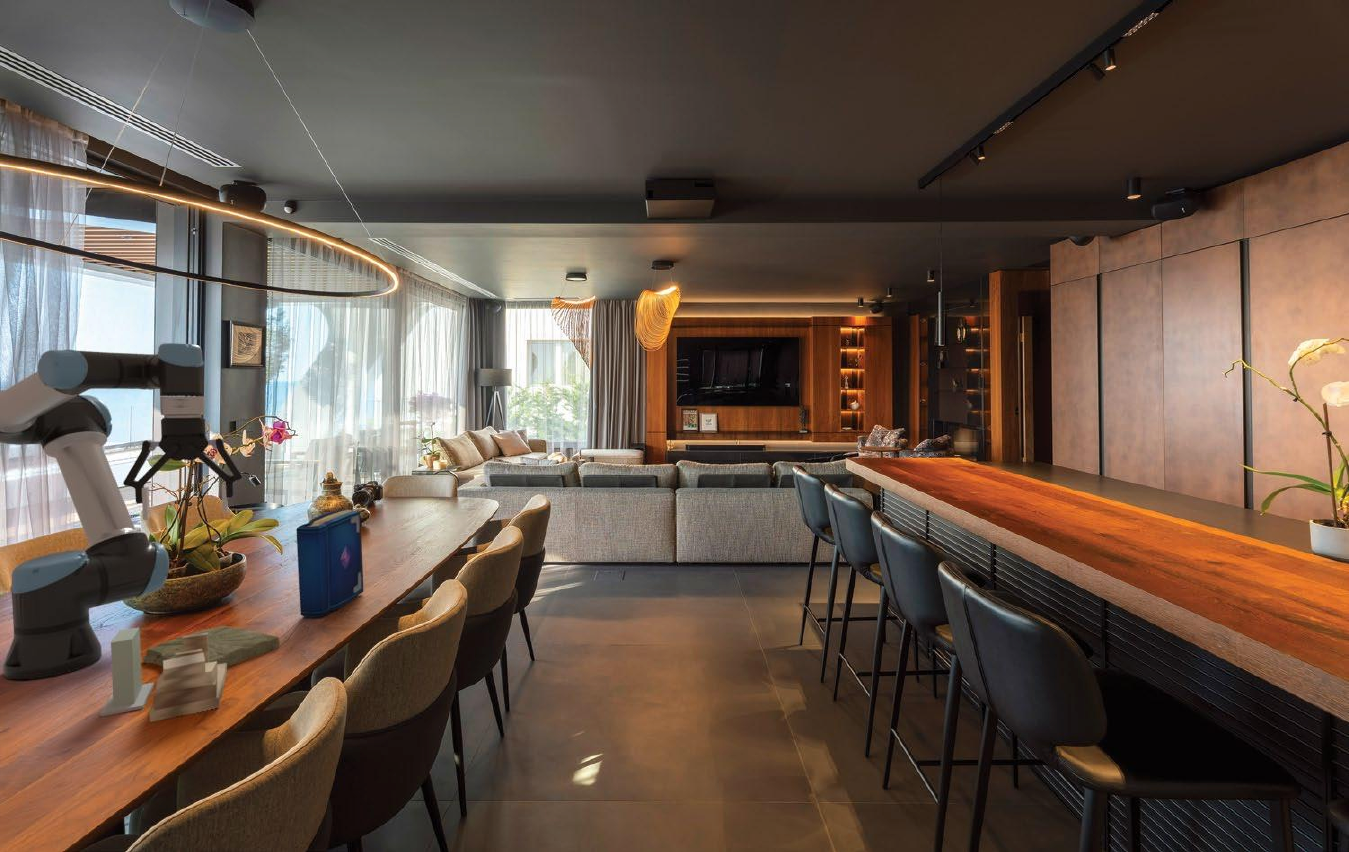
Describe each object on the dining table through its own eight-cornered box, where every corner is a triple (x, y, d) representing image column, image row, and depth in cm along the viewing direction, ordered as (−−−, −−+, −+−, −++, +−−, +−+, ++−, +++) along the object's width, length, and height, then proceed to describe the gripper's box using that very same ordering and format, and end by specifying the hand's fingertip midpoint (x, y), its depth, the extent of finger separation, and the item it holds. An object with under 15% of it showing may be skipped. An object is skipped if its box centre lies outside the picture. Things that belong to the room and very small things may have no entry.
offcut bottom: (153, 710, 115) (153, 696, 115) (157, 697, 120) (157, 684, 120) (216, 697, 120) (215, 684, 120) (217, 685, 125) (216, 672, 125)
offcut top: (163, 680, 115) (163, 669, 115) (163, 671, 119) (163, 660, 119) (205, 671, 119) (205, 660, 119) (203, 662, 123) (203, 652, 123)
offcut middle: (157, 693, 116) (157, 679, 116) (165, 682, 120) (165, 668, 120) (212, 684, 119) (211, 671, 119) (217, 674, 124) (217, 661, 124)
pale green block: (113, 706, 119) (110, 642, 118) (122, 691, 125) (119, 630, 125) (134, 702, 121) (131, 639, 120) (142, 688, 127) (139, 627, 126)
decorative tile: (222, 636, 157) (222, 622, 157) (281, 648, 149) (280, 633, 149) (134, 666, 140) (133, 650, 139) (195, 681, 132) (194, 664, 132)
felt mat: (100, 716, 117) (100, 713, 117) (114, 692, 126) (114, 689, 126) (143, 708, 120) (143, 705, 120) (153, 685, 129) (153, 682, 129)
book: (322, 620, 167) (319, 523, 165) (295, 620, 167) (292, 523, 165) (364, 594, 188) (362, 508, 187) (340, 594, 188) (338, 508, 187)
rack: (149, 722, 115) (147, 671, 114) (166, 683, 130) (164, 638, 130) (218, 708, 120) (217, 660, 119) (227, 672, 135) (225, 629, 135)
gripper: (102, 418, 129) (106, 524, 130) (252, 416, 142) (255, 512, 143) (111, 417, 136) (115, 518, 137) (253, 415, 148) (256, 507, 149)
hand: (186, 515), depth 140 cm, fingers open, 13 cm apart
